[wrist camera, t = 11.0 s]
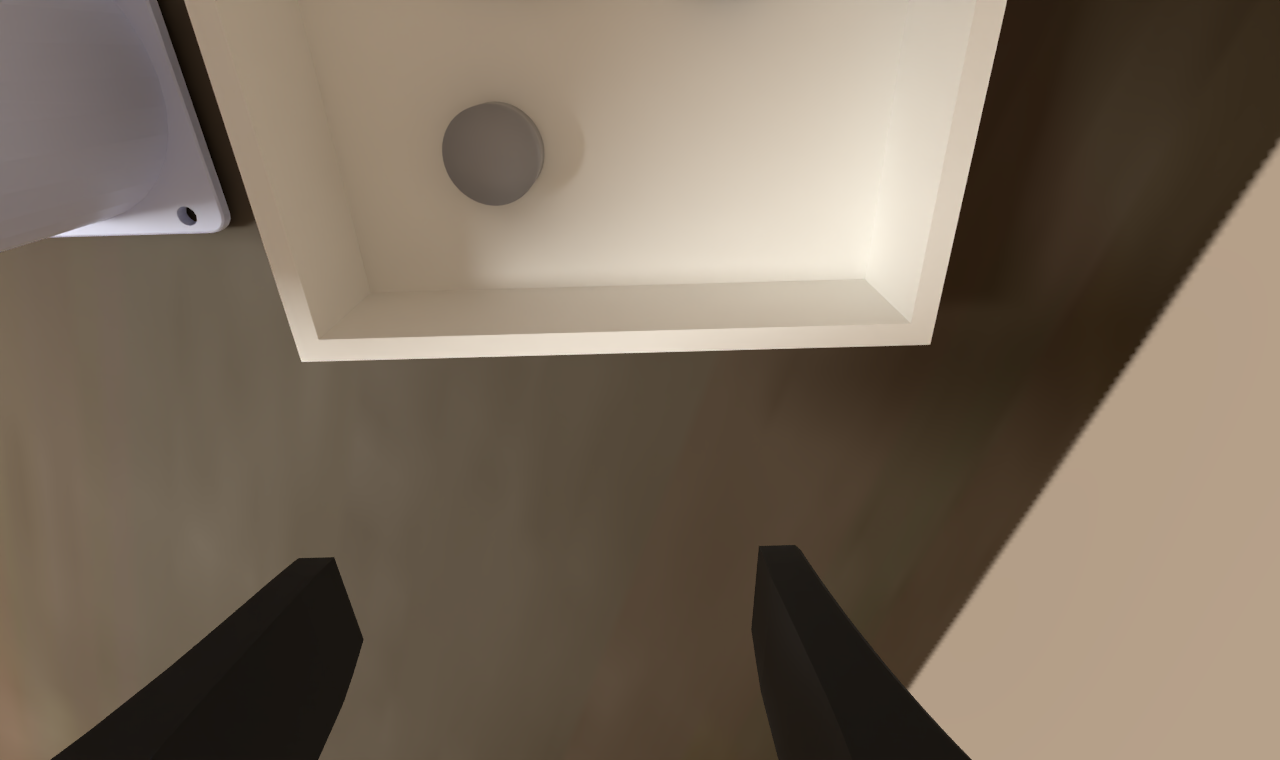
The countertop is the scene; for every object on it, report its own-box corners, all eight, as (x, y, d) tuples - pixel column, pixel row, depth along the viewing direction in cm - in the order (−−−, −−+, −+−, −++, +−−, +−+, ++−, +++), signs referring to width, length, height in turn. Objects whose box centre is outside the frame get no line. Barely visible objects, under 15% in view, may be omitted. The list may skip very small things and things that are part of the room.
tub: (363, 304, 19) (301, 361, 15) (214, -274, 13) (54, -401, 9) (874, 290, 19) (930, 344, 15) (972, -297, 13) (1103, -432, 9)
